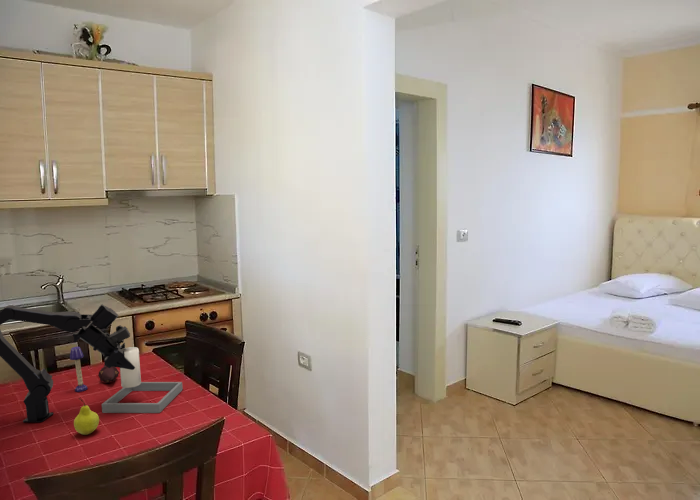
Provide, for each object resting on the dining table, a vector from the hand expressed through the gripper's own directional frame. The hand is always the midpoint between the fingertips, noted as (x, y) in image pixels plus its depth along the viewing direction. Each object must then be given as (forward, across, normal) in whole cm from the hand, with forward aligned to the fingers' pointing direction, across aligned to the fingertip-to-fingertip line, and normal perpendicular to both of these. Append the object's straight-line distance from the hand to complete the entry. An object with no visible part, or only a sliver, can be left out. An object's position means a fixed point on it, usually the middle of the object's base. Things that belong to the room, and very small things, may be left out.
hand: (134, 365), depth 183 cm
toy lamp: (-4, +22, +24) cm, 32 cm away
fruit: (0, -19, +20) cm, 27 cm away
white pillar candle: (+4, 0, +6) cm, 7 cm away
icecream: (+3, +26, +17) cm, 31 cm away
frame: (+11, 0, +8) cm, 14 cm away
